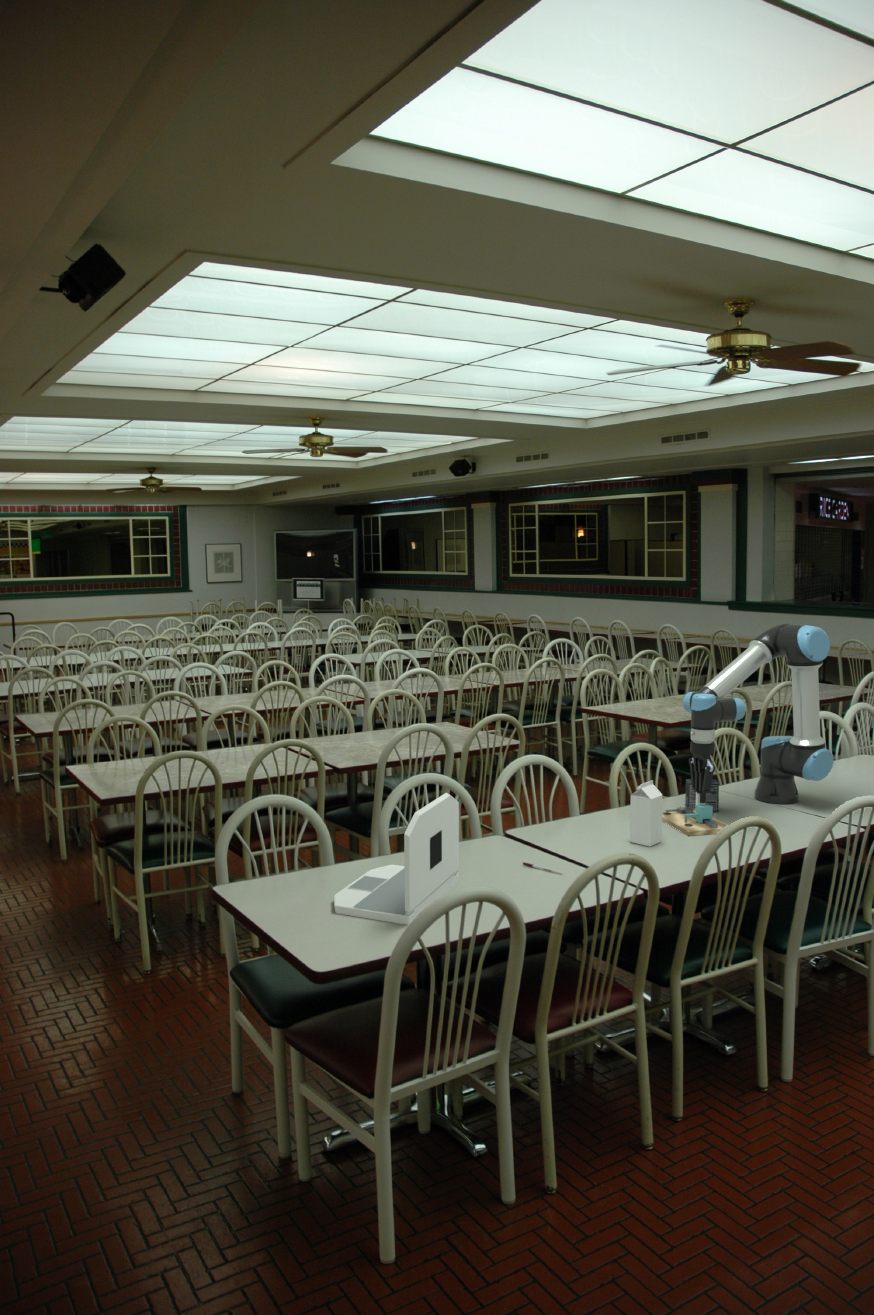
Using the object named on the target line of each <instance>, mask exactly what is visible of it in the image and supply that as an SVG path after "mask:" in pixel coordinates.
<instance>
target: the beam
mask: <svg viewBox="0 0 874 1315" xmlns="http://www.w3.org/2000/svg"><path fill="white" fill-rule="evenodd" d="M676 811H677V812H678V813H680V814H695V812H693V809H692V808H690V807H685V806H683V807H681V806H680V807H676V808H673V809H671V808H670V809H665V812H666V814H668V812H676ZM691 818H693V819H695V820H696V817H691ZM703 824H705V825H707V826H709V827H710V828H718V824H716V823H714V822H712V821H710V820H709V819H703Z"/></svg>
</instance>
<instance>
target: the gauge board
mask: <svg viewBox="0 0 874 1315" xmlns="http://www.w3.org/2000/svg"><path fill="white" fill-rule="evenodd" d="M693 812H695V810H693ZM695 813H696V812H695ZM664 822H666V823H667V824H666V823H665V824H666V825H668V824H669V825H668V826H670V825H671V826H673V827H674V828H673V827H672V828H673V829H675V828H676V829H675V830H677V829H678V830H680V831H681V832H680V831H679V832H680V833H682V832H683V833H682V834H684V833H685V834H684V835H685V836H687V835H696V836H702V835H701V834H707V835H715V834H716V833H717V832H719V831H720V830H721V829H722V828H724V827H725V826H726V825H728V824H727V823H725V822H723V821H722V820H719V819H717V818H715V817H713V818H712V822H714V823H716V824H718V828H710V827H709V826H707V825H705V824H703V823H699V822H697V821H696V820H695V819H693V818H691V817H687V823H685V817H684V814H680V813H678V812H677V811H676V812H668V814H666V811H665V812H664V811H662V823H664ZM671 826H670V827H671ZM678 830H677V831H678ZM716 835H717V834H716Z"/></svg>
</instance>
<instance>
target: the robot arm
mask: <svg viewBox="0 0 874 1315" xmlns="http://www.w3.org/2000/svg"><path fill="white" fill-rule="evenodd" d="M830 649H831V641H830V638H829V635H828V634H827V632H826V631H824V629H822V628H821V627H818V626H813V625H809V624H808V625H807V624H793V623H780V624H776V625H773V626H772V627H769V628H768V629H765V630H764V631H762V632H761V633H759V634H758V635H757V636H756V637H755V638H754V639H752V640H751V641H750V642H749V643H748V648H746V649H745V650H744V651H743V652H741V653H740V654H739V655H738V656H737V657H736V658H735V659H734V660H733V661H731V662H730V663H729V664H728V665H727V666H725V667H724V668H723V669H722V670H721V671H720V672H719V673H718V674H716V675H715V676H714V677H713V678H712V679H711V680H709V682H707V683H706V684H705V685H704V686H703V687H702V688H700V689H699V690H698V691H690V692H687V693H685V695H684V697H683V698H682V699H683V700H682V706H683V708H684V710H685V711H686V712H687V713H689V714H691V715H690V732H689V733H690V740H691V741H690V743H689V745H690V746H689V751H690V753H691V754H692V758H688V764H689V769H690V771H689V772H690V779H691V783H692V788H694V789H695V792H696V805H705V802H706V793H708V792H710V790H711V784H712V780H713V776H714V773H715V770H716V766H715V765H712V759H711V756H712V755H713V754H714V753H715V742H714V741H715V739H716V738H715V736H716V732H715V731H716V730H715V728H716V723H719V722H720V723H722V722H735V721H738V720H741V719H743V718H744V717H745V715H746V710H747V709H746V704H745V702H744V701H743V700H742V699H741V698H739V697H731V696H730V697H727V696H729V695H730V693H732V692H733V691H734V690H735V689H736V688H737V687H738V686H740V685H741V684H742V683H743V682H744V681H746V680H747V679H748V678H749V677H750V676H751V675H752V674H753V673H755V672H756V671H757V670H758V669H759V668H761V667H762V665H764V664H769V663H770V662H772V660H775V659H776V658H780V657H783V658H784V657H785V660H786V661H785V662H786V666H787V667H788V668H789V669H790V670H791V687H792V688H791V692H792V719H793V721H792V722H793V724H792V725H793V735H774V736H773V735H772V736H771V735H770V736H765V737H763V739H762V740H761V746H760V770H759V771H760V772H759V780H758V782H757V784H756V788H755V789H754V799H756V800H758V801H761V802H764V803H771V804H778V805H780V804H781V805H789V804H795V803H797V802H799V799H800V798H799V797H800V796H799V792H798V791H799V790H798V787H797V785H796V781H795V777H797V778H798V777H799V778H801V779H804V780H807V781H814V782H819V781H823V780H824V779H825V778H826V777H827V776H828V775H829V774H830V772H831V771H832V769H833V766H834V755H833V753H832V752H831V751H830V750H829V749H828V748H826V740H825V739H824V738H823V737H822V736H821V717H820V716H821V714H820V711H821V710H820V686H819V681H820V680H819V668H821V667H822V665H823V664H824V661H823V660H825V659H826V658H827V657H828V655H829V653H830ZM695 812H696V808H695Z"/></svg>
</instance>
